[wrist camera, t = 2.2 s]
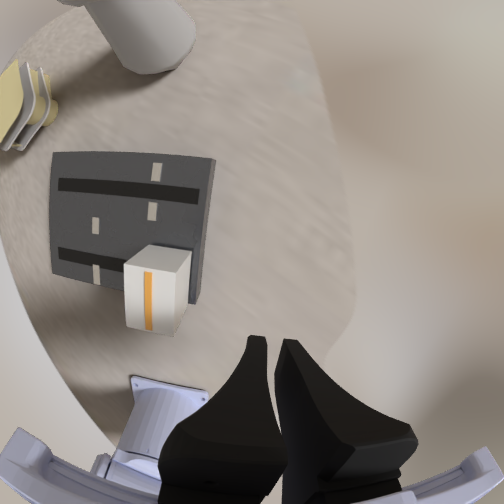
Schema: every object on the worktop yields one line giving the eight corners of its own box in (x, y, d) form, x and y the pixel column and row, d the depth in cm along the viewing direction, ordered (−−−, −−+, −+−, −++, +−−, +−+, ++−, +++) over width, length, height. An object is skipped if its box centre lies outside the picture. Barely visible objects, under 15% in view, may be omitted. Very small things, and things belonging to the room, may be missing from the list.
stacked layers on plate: (10, 98, 15) (-24, 93, 10) (68, 48, 15) (35, 30, 9) (22, 179, 18) (-18, 184, 13) (83, 131, 17) (41, 125, 12)
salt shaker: (121, 49, 15) (24, -22, 3) (182, 12, 14) (128, -92, 2) (148, 97, 16) (32, 27, 4) (215, 57, 16) (172, -66, 3)
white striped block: (187, 305, 18) (173, 338, 14) (147, 298, 18) (125, 327, 14) (191, 251, 17) (175, 273, 13) (148, 244, 17) (123, 264, 13)
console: (200, 292, 21) (195, 305, 19) (65, 265, 20) (51, 274, 18) (216, 160, 18) (211, 158, 16) (67, 152, 17) (52, 152, 15)
